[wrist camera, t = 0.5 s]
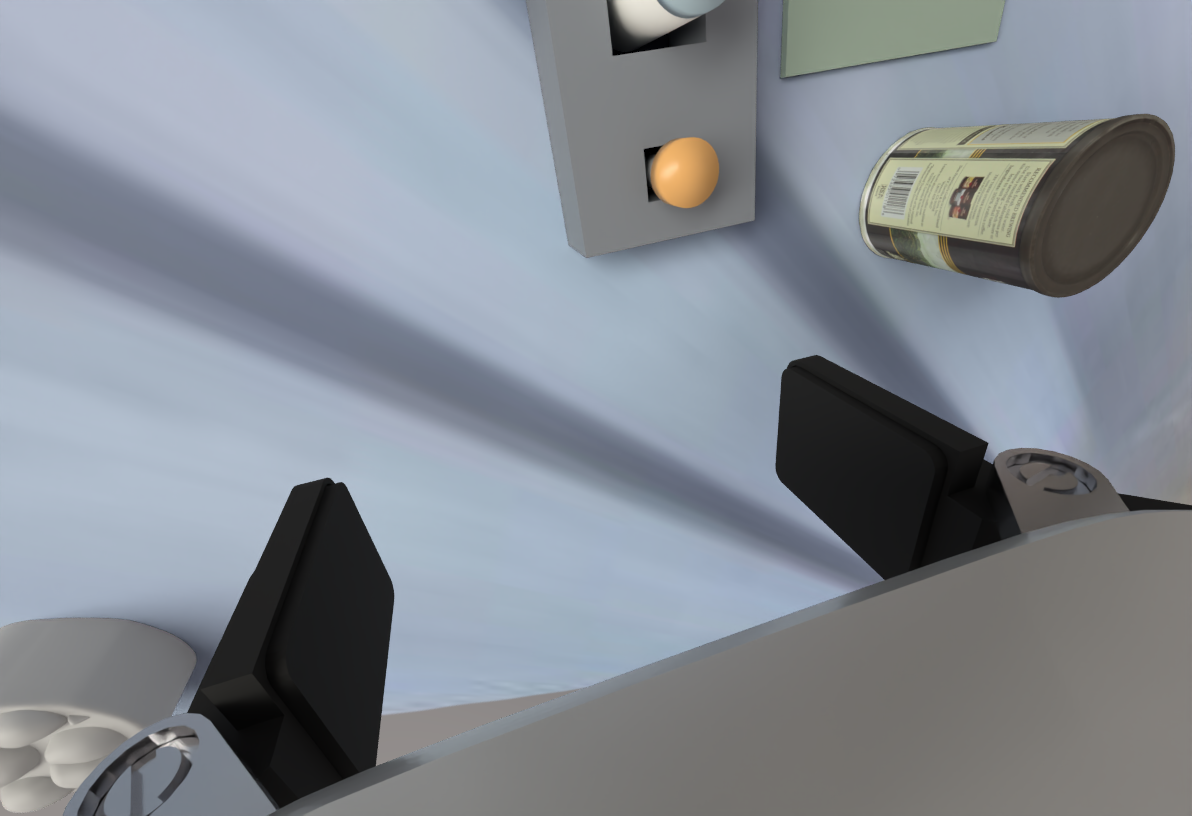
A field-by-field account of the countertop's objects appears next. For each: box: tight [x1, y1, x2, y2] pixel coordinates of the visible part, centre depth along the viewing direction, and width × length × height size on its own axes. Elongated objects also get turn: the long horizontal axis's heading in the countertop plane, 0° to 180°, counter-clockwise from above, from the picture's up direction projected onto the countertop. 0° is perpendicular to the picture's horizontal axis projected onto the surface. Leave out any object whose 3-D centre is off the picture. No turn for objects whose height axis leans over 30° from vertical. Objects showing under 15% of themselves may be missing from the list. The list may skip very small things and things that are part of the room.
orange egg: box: [644, 137, 719, 208], centre depth 30 cm, size 4×4×6 cm
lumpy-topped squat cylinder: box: [0, 618, 197, 813], centre depth 36 cm, size 10×13×9 cm
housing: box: [526, 0, 758, 258], centre depth 29 cm, size 18×12×5 cm, turn 9°
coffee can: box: [859, 114, 1175, 297], centre depth 35 cm, size 10×10×14 cm
